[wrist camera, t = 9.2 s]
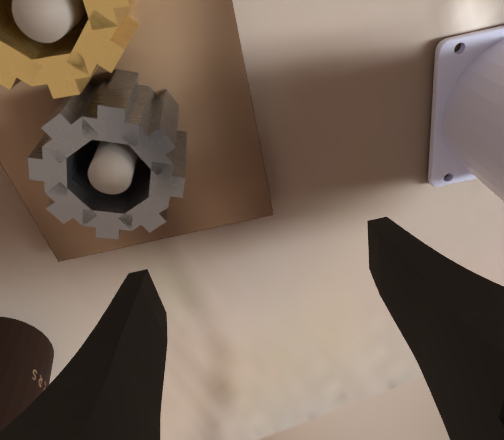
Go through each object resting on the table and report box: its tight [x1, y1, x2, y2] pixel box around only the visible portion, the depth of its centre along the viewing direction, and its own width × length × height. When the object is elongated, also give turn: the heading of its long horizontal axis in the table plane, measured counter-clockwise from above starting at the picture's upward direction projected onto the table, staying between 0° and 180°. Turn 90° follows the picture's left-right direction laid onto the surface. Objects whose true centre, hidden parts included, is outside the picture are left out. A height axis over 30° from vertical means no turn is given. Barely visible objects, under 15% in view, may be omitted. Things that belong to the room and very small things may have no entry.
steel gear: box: [28, 69, 187, 239], centre depth 18 cm, size 6×6×4 cm
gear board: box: [0, 0, 273, 262], centre depth 17 cm, size 12×18×6 cm, turn 11°
